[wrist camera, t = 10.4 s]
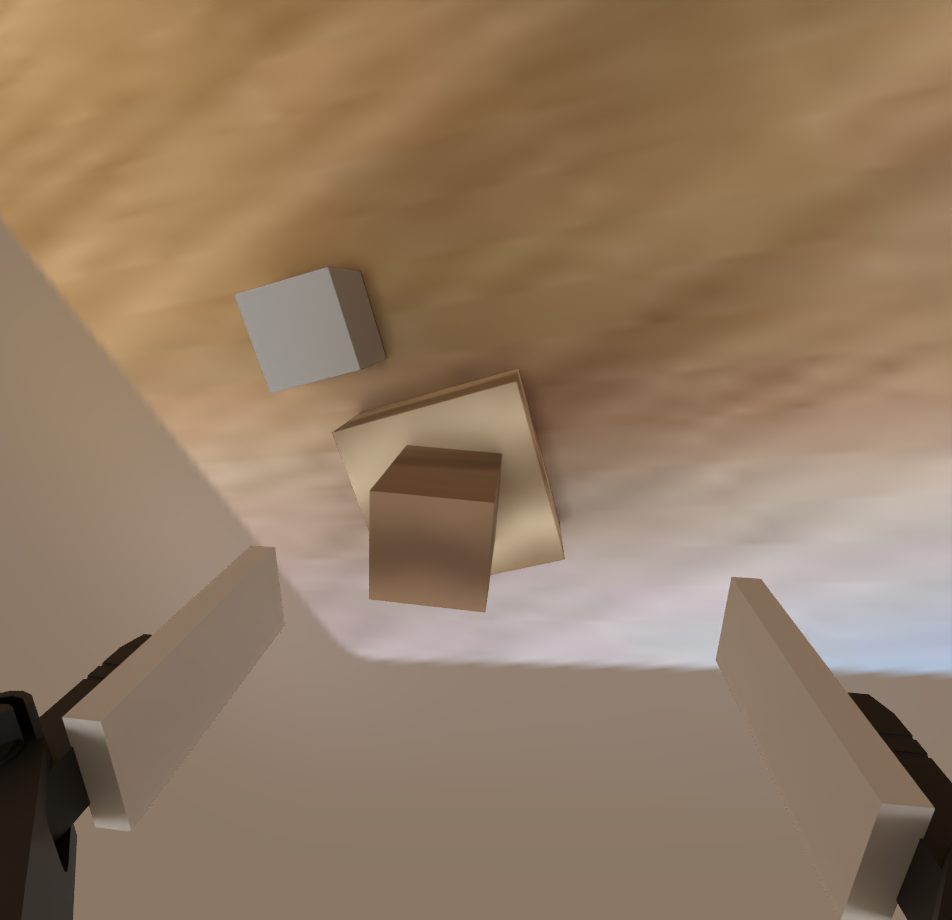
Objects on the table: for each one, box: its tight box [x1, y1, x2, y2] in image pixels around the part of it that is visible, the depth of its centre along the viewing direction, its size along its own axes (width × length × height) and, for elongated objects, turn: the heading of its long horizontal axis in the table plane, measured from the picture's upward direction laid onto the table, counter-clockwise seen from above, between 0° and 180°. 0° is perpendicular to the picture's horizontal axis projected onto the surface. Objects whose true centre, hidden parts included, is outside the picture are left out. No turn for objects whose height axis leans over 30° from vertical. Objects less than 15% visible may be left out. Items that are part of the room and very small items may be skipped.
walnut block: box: [369, 445, 502, 612], centre depth 30 cm, size 6×6×8 cm
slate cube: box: [234, 267, 386, 393], centre depth 34 cm, size 6×6×6 cm
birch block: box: [332, 369, 565, 575], centre depth 36 cm, size 12×12×6 cm
